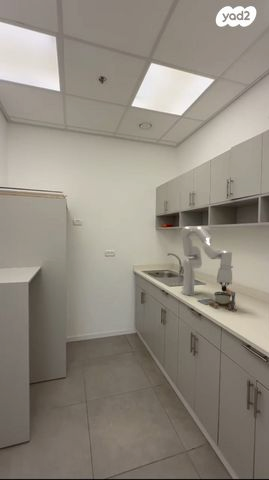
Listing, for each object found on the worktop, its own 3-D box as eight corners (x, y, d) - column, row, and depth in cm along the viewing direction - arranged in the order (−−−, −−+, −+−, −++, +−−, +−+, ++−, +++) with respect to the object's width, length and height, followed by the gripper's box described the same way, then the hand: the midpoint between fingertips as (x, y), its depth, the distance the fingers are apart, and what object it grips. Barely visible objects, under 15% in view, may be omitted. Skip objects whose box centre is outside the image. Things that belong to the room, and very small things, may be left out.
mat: (196, 300, 183) (196, 300, 183) (211, 299, 188) (211, 298, 188) (205, 305, 173) (205, 304, 173) (220, 303, 179) (220, 302, 179)
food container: (229, 304, 175) (229, 292, 175) (230, 307, 169) (231, 294, 169) (212, 303, 178) (213, 290, 178) (213, 305, 172) (214, 292, 172)
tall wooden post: (221, 289, 178) (221, 286, 178) (224, 289, 178) (224, 286, 178) (232, 296, 162) (232, 292, 162) (236, 296, 162) (236, 292, 162)
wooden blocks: (208, 305, 173) (208, 291, 173) (227, 302, 181) (227, 289, 180) (224, 312, 158) (225, 298, 158) (244, 309, 166) (245, 295, 165)
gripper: (234, 267, 173) (232, 290, 174) (214, 265, 175) (212, 289, 176) (237, 268, 166) (235, 293, 167) (216, 267, 167) (214, 291, 169)
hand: (223, 291), depth 172 cm, fingers closed
